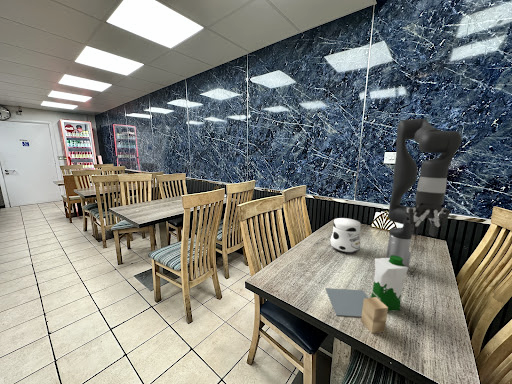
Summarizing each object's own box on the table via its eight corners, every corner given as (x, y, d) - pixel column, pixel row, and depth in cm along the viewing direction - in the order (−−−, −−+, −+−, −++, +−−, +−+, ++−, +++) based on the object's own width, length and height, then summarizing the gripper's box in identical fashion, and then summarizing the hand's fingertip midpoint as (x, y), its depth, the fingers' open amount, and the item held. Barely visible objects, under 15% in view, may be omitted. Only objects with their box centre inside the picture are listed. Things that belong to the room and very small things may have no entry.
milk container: (361, 257, 116) (365, 228, 113) (330, 252, 121) (332, 224, 118) (357, 245, 132) (360, 219, 129) (329, 241, 137) (331, 216, 134)
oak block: (373, 319, 71) (376, 297, 70) (384, 331, 66) (388, 307, 65) (360, 321, 70) (363, 298, 69) (371, 333, 66) (374, 309, 64)
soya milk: (404, 312, 75) (412, 263, 71) (381, 313, 74) (388, 264, 70) (387, 296, 83) (393, 252, 80) (366, 297, 82) (372, 252, 79)
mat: (362, 291, 86) (362, 290, 86) (381, 318, 72) (382, 317, 71) (325, 288, 87) (325, 288, 87) (336, 315, 73) (336, 314, 73)
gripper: (443, 188, 73) (435, 232, 76) (402, 188, 74) (396, 230, 77) (462, 192, 66) (453, 240, 69) (416, 191, 67) (409, 238, 70)
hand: (423, 235), depth 73 cm, fingers open, 5 cm apart
